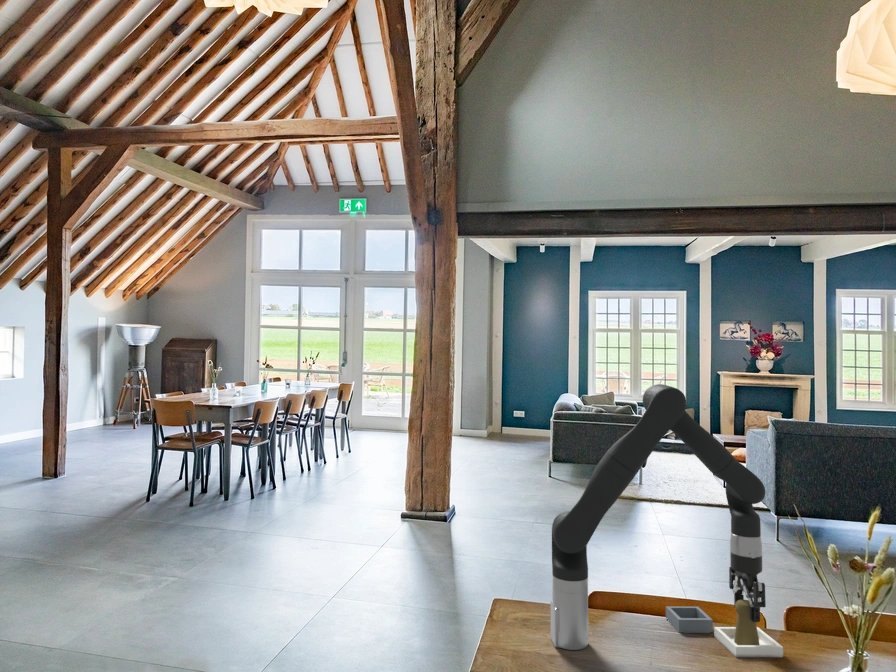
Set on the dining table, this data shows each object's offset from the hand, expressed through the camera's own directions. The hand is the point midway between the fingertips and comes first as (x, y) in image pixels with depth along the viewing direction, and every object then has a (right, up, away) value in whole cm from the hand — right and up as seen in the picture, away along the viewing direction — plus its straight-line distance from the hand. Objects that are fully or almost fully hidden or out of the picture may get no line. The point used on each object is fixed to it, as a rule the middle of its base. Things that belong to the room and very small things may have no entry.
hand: (746, 615), depth 160 cm
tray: (0, -8, 0) cm, 8 cm away
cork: (0, -8, 0) cm, 8 cm away
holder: (-10, -9, +12) cm, 18 cm away
